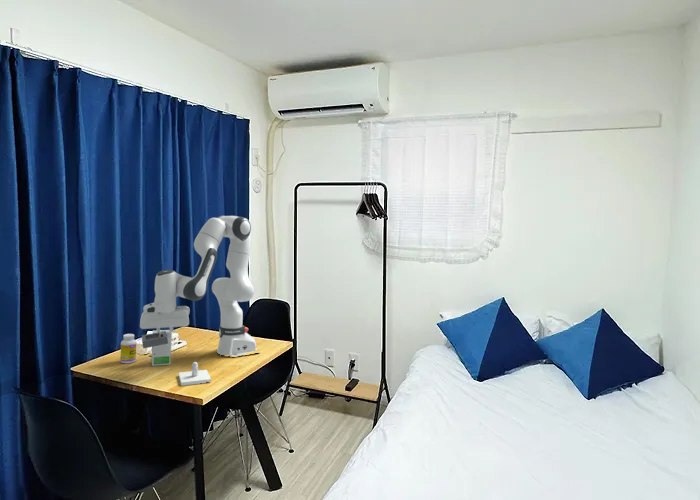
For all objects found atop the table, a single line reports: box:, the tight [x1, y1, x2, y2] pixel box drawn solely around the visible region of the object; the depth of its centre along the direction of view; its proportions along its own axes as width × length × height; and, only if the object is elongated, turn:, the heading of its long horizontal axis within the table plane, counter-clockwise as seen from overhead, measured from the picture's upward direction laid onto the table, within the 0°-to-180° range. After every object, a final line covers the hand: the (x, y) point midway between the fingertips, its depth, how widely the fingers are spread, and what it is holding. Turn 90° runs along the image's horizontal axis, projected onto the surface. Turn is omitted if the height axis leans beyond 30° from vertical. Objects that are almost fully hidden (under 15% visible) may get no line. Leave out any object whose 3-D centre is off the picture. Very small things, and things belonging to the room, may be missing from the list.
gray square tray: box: [141, 331, 168, 349], centre depth 194 cm, size 10×10×3 cm
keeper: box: [178, 361, 212, 387], centre depth 192 cm, size 12×12×8 cm
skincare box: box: [151, 329, 173, 367], centre depth 208 cm, size 8×7×16 cm
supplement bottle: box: [119, 333, 137, 364], centre depth 208 cm, size 7×7×13 cm
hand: (164, 336), depth 196 cm, fingers closed on gray square tray, 2 cm apart
